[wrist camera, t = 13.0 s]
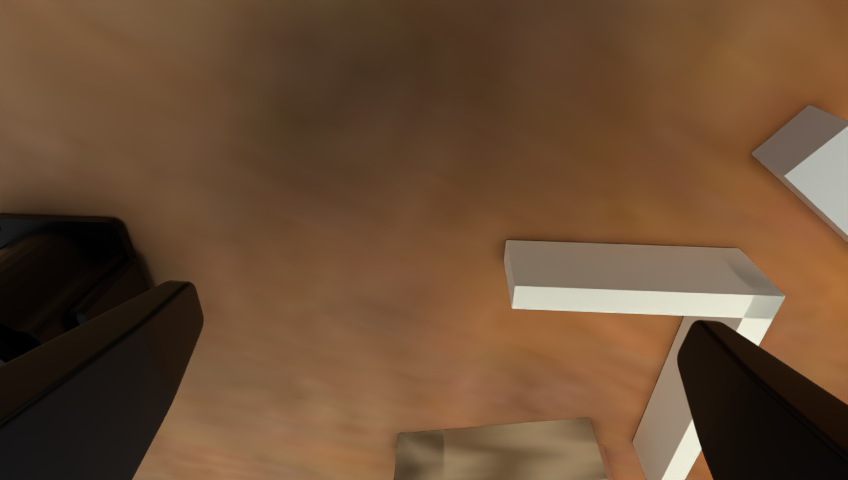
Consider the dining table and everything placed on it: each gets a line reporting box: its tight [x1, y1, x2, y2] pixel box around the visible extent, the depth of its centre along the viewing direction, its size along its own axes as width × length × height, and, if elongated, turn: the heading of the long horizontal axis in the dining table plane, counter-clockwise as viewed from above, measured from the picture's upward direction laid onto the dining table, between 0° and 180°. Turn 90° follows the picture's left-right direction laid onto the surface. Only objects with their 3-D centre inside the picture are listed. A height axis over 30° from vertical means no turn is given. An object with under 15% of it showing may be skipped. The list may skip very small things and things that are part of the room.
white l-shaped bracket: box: [504, 240, 785, 480], centre depth 24 cm, size 11×15×4 cm
